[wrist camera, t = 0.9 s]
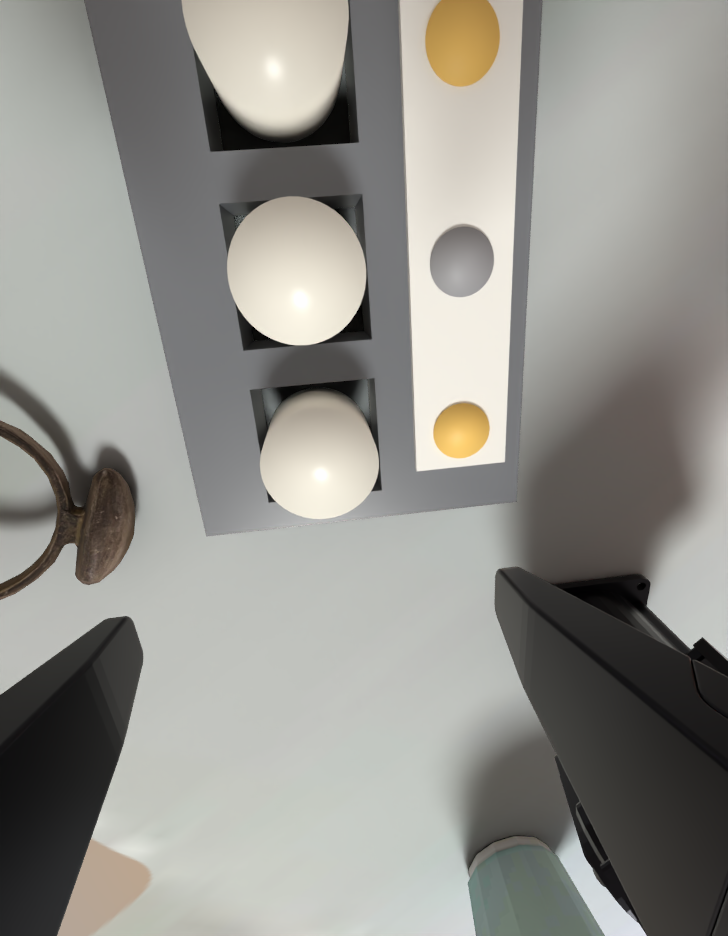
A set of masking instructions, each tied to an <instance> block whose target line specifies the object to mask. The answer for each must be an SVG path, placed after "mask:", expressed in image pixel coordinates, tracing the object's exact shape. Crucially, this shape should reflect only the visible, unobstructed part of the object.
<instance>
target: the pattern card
mask: <svg viewBox="0 0 728 936" xmlns="http://www.w3.org/2000/svg"><path fill="white" fill-rule="evenodd" d="M398 12H399V39H400V67H401V94H402V122H403V149H404V177H405V204H406V231H407V259H408V286H409V314H410V341H411V369H412V396H413V424H414V451H415V469H416V471H426V470H435V469H444V468H454V467H463V466H473V465H482V464H491V463H501V462H505V446H506V421H507V396H508V371H509V346H510V320H511V295H512V270H513V245H514V220H515V195H516V170H517V145H518V120H519V95H520V70H521V45H522V19H523V0H398Z"/></svg>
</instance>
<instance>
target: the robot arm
mask: <svg viewBox="0 0 728 936" xmlns="http://www.w3.org/2000/svg"><path fill="white" fill-rule="evenodd" d="M639 583H640V584H639ZM638 584H639V585H638ZM637 585H638V586H637ZM649 589H650V582H649V580H648V579H647V578H646V577H644V576H643V575H640V574H637V575H629V576H621V577H613V578H605V579H597V580H589V581H581V582H573V583H565V584H557V585H552V584H550V583H548V582H546V581H544V580H542V579H541V578H539V577H537V576H535V575H533V574H531V573H529V572H527V571H525V570H523V569H522V568H519V567H509V568H502V569H499V570H497V572H496V576H495V611H496V615H497V618H498V621H499V624H500V626H501V629H502V632H503V634H504V637H505V640H506V643H507V645H508V648H509V651H510V653H511V656H512V659H513V661H514V664H515V667H516V670H517V672H518V675H519V678H520V680H521V683H522V685H523V688H524V690H525V692H526V694H527V696H528V698H529V700H530V702H531V704H532V706H533V708H534V710H535V712H536V714H537V716H538V718H539V720H540V722H541V724H542V726H543V728H544V730H545V732H546V734H547V736H548V738H549V740H550V742H551V744H552V746H553V748H554V750H555V752H556V754H557V756H555V760H556V763H557V766H558V769H559V773H560V778H561V781H562V784H563V787H564V791H565V794H566V797H567V801H568V804H569V807H570V810H571V814H572V817H573V820H574V824H575V827H576V830H577V833H578V837H579V840H580V843H581V847H582V850H583V853H584V856H585V858H586V860H587V861H588V863H589V864H590V865H591V867H592V868H593V872H594V874H595V876H596V878H597V880H598V881H599V882H600V883H601V884H602V885H603V886H604V887H606V888H607V889H608V890H609V892H610V893H611V894H612V896H613V897H614V898H615V900H616V901H617V902H618V903H619V904H620V905H621V907H622V908H623V909H624V910H625V911H626V912H627V913H628V914H629V915H630V916H631V917H632V918H633V919H634V920H635V921H637V922H638V923H639V924H640V925H641V927H642V929H643V930H644V932H645V933H646V935H647V936H728V659H727V658H726V657H725V656H723V655H722V654H721V653H720V652H719V651H718V650H716V649H715V648H714V647H713V646H712V645H711V644H710V643H708V642H707V641H706V640H705V639H704V638H703V637H702V638H701V639H700V640H699V641H698V642H696V643H695V644H694V645H693V646H694V648H693V649H692V650H691V649H690V648H689V647H687V646H686V645H685V644H684V643H683V642H682V641H681V640H680V639H679V638H678V637H677V636H676V635H675V634H674V633H673V632H672V631H671V630H670V629H669V628H668V627H667V626H666V625H665V624H664V623H663V622H662V621H661V620H660V619H659V618H658V617H657V616H656V615H655V614H654V613H653V612H652V611H651V610H650V609H649V608H648V607H647V600H648V595H649ZM142 665H143V650H142V647H141V644H140V641H139V638H138V635H137V632H136V629H135V625H134V623H133V621H132V619H131V618H130V617H127V616H124V617H116V618H108V619H105V620H104V621H102V622H101V623H99V624H98V625H97V626H95V627H94V628H92V629H91V630H90V631H88V632H87V633H86V634H84V635H83V636H81V637H80V638H79V639H77V640H76V641H74V642H73V643H72V644H70V645H69V646H68V647H66V648H65V649H63V650H62V651H61V652H59V653H58V654H57V655H55V656H54V657H52V658H51V659H50V660H48V661H47V662H45V663H44V664H43V665H41V666H40V667H39V668H37V669H36V670H34V671H33V672H32V673H30V674H29V675H27V676H26V677H25V678H23V679H22V680H21V681H19V682H18V683H16V684H15V685H14V686H12V687H11V688H9V689H8V690H7V691H5V692H4V693H3V694H1V695H0V936H57V934H58V931H59V929H60V926H61V922H62V920H63V917H64V914H65V911H66V908H67V905H68V903H69V900H70V897H71V894H72V891H73V888H74V885H75V883H76V880H77V877H78V874H79V871H80V868H81V865H82V863H83V860H84V857H85V854H86V851H87V848H88V845H89V842H90V840H91V837H92V834H93V831H94V828H95V825H96V823H97V820H98V817H99V814H100V811H101V808H102V805H103V802H104V800H105V797H106V794H107V791H108V788H109V785H110V782H111V780H112V777H113V774H114V771H115V768H116V765H117V762H118V760H119V756H120V753H121V750H122V747H123V744H124V740H125V736H126V733H127V729H128V724H129V720H130V716H131V711H132V707H133V703H134V699H135V694H136V690H137V686H138V682H139V677H140V673H141V669H142Z"/></svg>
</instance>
